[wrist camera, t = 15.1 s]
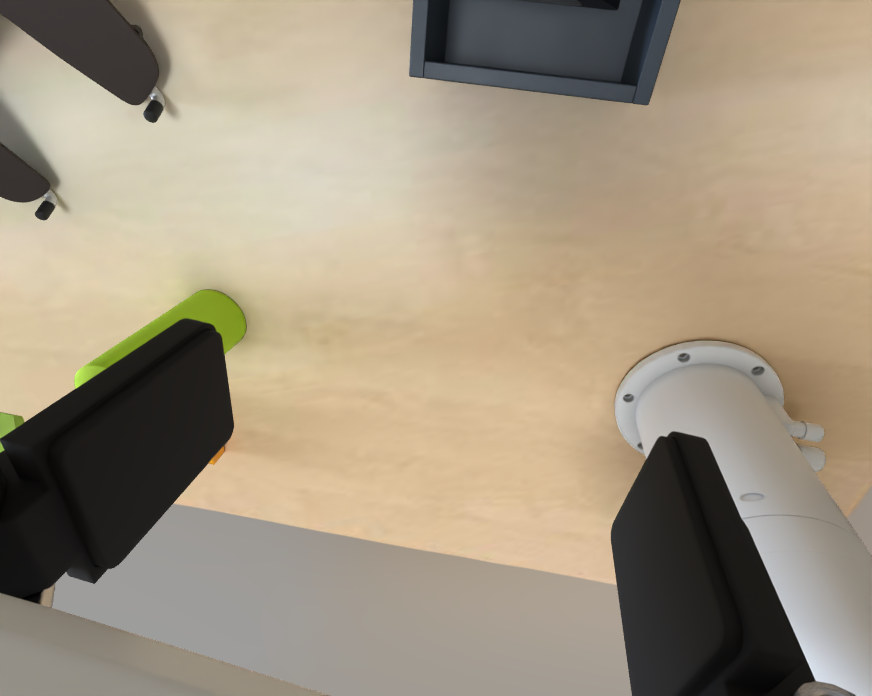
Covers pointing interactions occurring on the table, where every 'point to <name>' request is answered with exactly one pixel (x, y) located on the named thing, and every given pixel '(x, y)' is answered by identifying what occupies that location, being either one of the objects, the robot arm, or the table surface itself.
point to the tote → (544, 46)
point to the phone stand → (584, 3)
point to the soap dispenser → (196, 307)
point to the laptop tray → (91, 55)
